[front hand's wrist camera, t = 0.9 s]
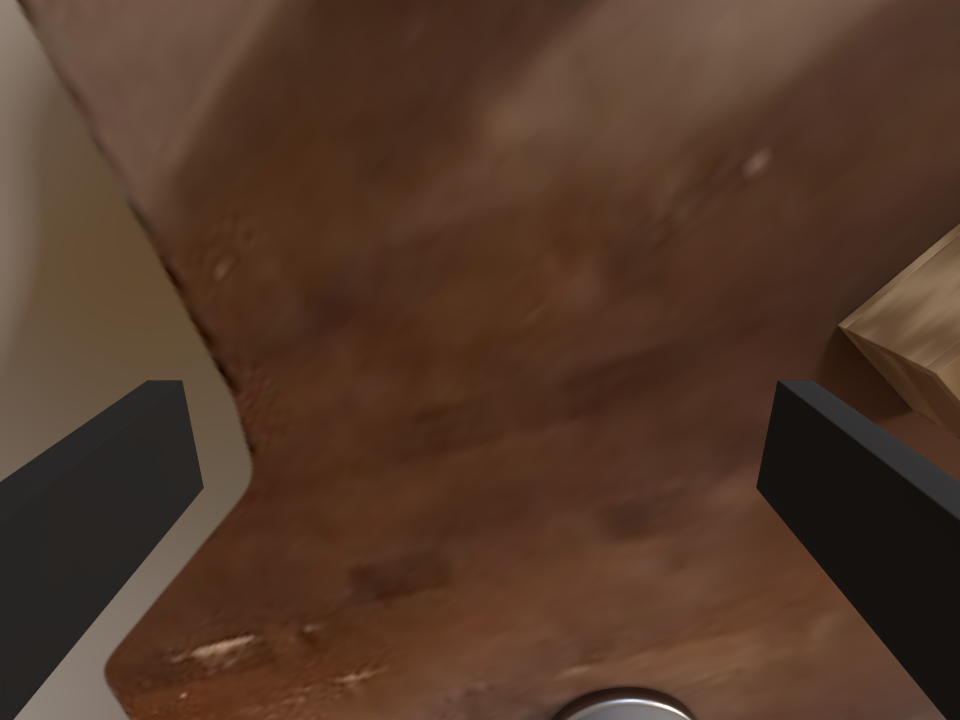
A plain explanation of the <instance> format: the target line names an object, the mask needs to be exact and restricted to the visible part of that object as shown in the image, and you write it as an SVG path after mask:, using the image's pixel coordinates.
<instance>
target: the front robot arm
mask: <svg viewBox="0 0 960 720" xmlns="http://www.w3.org/2000/svg"><path fill="white" fill-rule="evenodd" d="M203 488H204V487H203V482H202V477H201V472H200V467H199V462H198V457H197V452H196V447H195V442H194V437H193V432H192V427H191V422H190V417H189V412H188V407H187V402H186V397H185V392H184V387H183V382H182V380H181V381H179V380H178V381H175V380H174V381H173V380H158V381H157V380H156V381H154V380H148V381H146V382H145V383H143V384H142V385H140V386H139V387H137V388H136V389H134V390H133V391H132V392H130V393H129V394H127V395H126V396H124V397H123V398H121V399H120V400H119V401H117V402H116V403H114V404H113V405H111V406H110V407H108V408H107V409H105V410H104V411H103V412H101V413H100V414H98V415H97V416H95V417H94V418H92V419H91V420H89V421H88V422H87V423H85V424H84V425H82V426H81V427H79V428H78V429H76V430H75V431H74V432H72V433H71V434H69V435H68V436H66V437H65V438H63V439H62V440H61V441H59V442H58V443H56V444H55V445H53V446H52V447H50V448H49V449H47V450H46V451H45V452H43V453H42V454H40V455H39V456H37V457H36V458H34V459H33V460H31V461H30V462H29V463H27V464H26V465H24V466H23V467H21V468H20V469H18V470H17V471H16V472H14V473H13V474H11V475H10V476H8V477H7V478H6V479H4V480H2V481H1V482H0V720H14V718H15V717H16V716H17V715H18V713H19V712H20V711H21V710H22V709H23V707H24V706H25V705H26V704H27V703H28V701H29V700H30V699H31V698H32V696H33V695H34V694H35V693H36V692H37V690H38V689H39V688H40V687H41V685H42V684H43V683H44V682H45V681H46V679H47V678H48V677H49V676H50V674H51V673H52V672H53V671H54V670H55V668H56V667H57V666H58V665H59V663H60V662H61V661H62V660H63V659H64V657H65V656H66V655H67V654H68V653H69V651H70V650H71V649H72V648H73V646H74V645H75V644H76V643H77V642H78V640H79V639H80V638H81V637H82V635H83V634H84V633H85V632H86V631H87V629H88V628H89V627H90V626H91V625H92V623H93V622H94V621H95V620H96V618H97V617H98V616H99V615H100V614H101V612H102V611H103V610H104V609H105V607H106V606H107V605H108V604H109V603H110V601H111V600H112V599H113V598H114V596H115V595H116V594H117V593H118V592H119V590H120V589H121V588H122V587H123V585H124V584H125V583H126V582H127V581H128V579H129V578H130V577H131V576H132V574H133V573H134V572H135V571H136V570H137V568H138V567H139V566H140V565H141V564H142V562H143V561H144V560H145V559H146V557H147V556H148V555H149V554H150V553H151V551H152V550H153V549H154V548H155V547H156V545H157V544H158V543H159V542H160V540H161V539H162V538H163V537H164V536H165V534H166V533H167V532H168V531H169V529H170V528H171V527H172V526H173V524H174V523H175V522H176V521H177V520H178V518H179V517H180V516H181V515H182V514H183V512H184V511H185V510H186V509H187V508H188V506H189V505H190V504H191V503H192V501H193V500H194V499H195V498H196V497H197V495H198V494H199V493H200V492H201V490H202V489H203ZM756 488H757V489H758V490H759V492H760V493H761V494H762V495H763V497H764V498H765V499H766V500H767V501H768V503H769V504H770V505H771V506H772V508H773V509H774V510H775V511H776V512H777V514H778V515H779V516H780V517H781V519H782V520H783V521H784V522H785V523H786V525H787V526H788V527H789V528H790V529H791V531H792V532H793V533H794V534H795V536H796V537H797V538H798V539H799V540H800V542H801V543H802V544H803V545H804V547H805V548H806V549H807V550H808V551H809V553H810V554H811V555H812V556H813V558H814V559H815V560H816V561H817V562H818V564H819V565H820V566H821V567H822V568H823V570H824V571H825V572H826V573H827V575H828V576H829V577H830V578H831V579H832V581H833V582H834V583H835V584H836V586H837V587H838V588H839V589H840V590H841V592H842V593H843V594H844V595H845V596H846V598H847V599H848V600H849V601H850V603H851V604H852V605H853V606H854V607H855V609H856V610H857V611H858V612H859V614H860V615H861V616H862V617H863V618H864V620H865V621H866V622H867V623H868V625H869V626H870V627H871V628H872V629H873V631H874V632H875V633H876V634H877V635H878V637H879V638H880V639H881V640H882V642H883V643H884V644H885V645H886V646H887V648H888V649H889V650H890V651H891V653H892V654H893V655H894V656H895V657H896V659H897V660H898V661H899V662H900V664H901V665H902V666H903V667H904V668H905V670H906V671H907V672H908V673H909V674H910V676H911V677H912V678H913V679H914V681H915V682H916V683H917V684H918V685H919V687H920V688H921V689H922V690H923V692H924V693H925V694H926V695H927V696H928V698H929V699H930V700H931V701H932V703H933V704H934V705H935V706H936V707H937V709H938V710H939V711H940V712H941V713H942V715H943V716H944V717H945V718H946V720H960V482H959V481H958V480H956V479H955V478H953V477H952V476H950V475H949V474H947V473H946V472H944V471H943V470H942V469H940V468H939V467H937V466H936V465H934V464H933V463H931V462H930V461H929V460H927V459H926V458H924V457H923V456H921V455H920V454H918V453H917V452H915V451H914V450H913V449H911V448H910V447H908V446H907V445H905V444H904V443H902V442H901V441H900V440H898V439H897V438H895V437H894V436H892V435H891V434H889V433H888V432H886V431H885V430H884V429H882V428H881V427H879V426H878V425H876V424H875V423H873V422H872V421H871V420H869V419H868V418H866V417H865V416H863V415H862V414H860V413H859V412H857V411H856V410H855V409H853V408H852V407H850V406H849V405H847V404H846V403H844V402H843V401H842V400H840V399H839V398H837V397H836V396H834V395H833V394H831V393H830V392H829V391H827V390H826V389H824V388H823V387H821V386H820V385H818V384H817V383H815V382H814V381H813V380H778V382H777V387H776V392H775V397H774V402H773V407H772V412H771V417H770V422H769V427H768V432H767V437H766V442H765V447H764V452H763V457H762V462H761V467H760V472H759V477H758V482H757V487H756ZM552 720H696V719H695V717H694V715H693V714H692V713H691V711H690V710H689V709H688V708H687V707H686V706H684V705H683V704H682V703H681V702H679V701H677V700H676V699H674V698H672V697H670V696H668V695H666V694H663V693H660V692H657V691H654V690H649V689H643V688H613V689H607V690H602V691H598V692H595V693H591V694H589V695H586V696H584V697H581V698H579V699H577V700H575V701H574V702H572V703H570V704H569V705H567V706H566V707H564V708H563V709H562V710H561V711H560V712H558V713H557V714H556V716H555V717H554V718H553V719H552Z"/></svg>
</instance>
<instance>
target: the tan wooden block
mask: <svg viewBox="0 0 960 720" xmlns="http://www.w3.org/2000/svg"><path fill="white" fill-rule="evenodd" d="M838 327H839V328H840V329H841V330H842V331H843V333H844V334H845V335H846V336H847V337H848V338H849V339H850V340H851V341H852V343H853V344H854V345H855V346H856V347H857V348H858V349H859V350H860V352H861V353H862V354H863V355H864V356H865V357H866V358H867V359H868V360H869V362H870V363H871V364H872V365H873V366H874V367H875V368H876V369H877V371H878V372H879V373H880V374H881V375H882V376H883V377H884V378H885V379H886V381H887V382H888V383H889V384H890V385H891V386H892V387H893V388H894V390H895V391H896V392H897V393H898V394H899V395H900V396H901V397H902V399H903V400H904V401H905V402H906V403H907V404H908V405H909V406H910V407H911V409H912V410H913V411H914V412H915V413H917V414H919V415H920V416H922V417H924V418H925V419H927V420H929V421H930V422H932V423H934V424H935V425H937V426H939V427H940V428H942V429H944V430H945V431H947V432H949V433H950V434H952V435H954V436H955V437H957V438H959V439H960V223H959V224H958V225H957V226H956V227H954V228H953V229H952V230H951V231H950V232H948V233H947V234H946V235H945V236H944V237H942V238H941V239H940V240H939V241H938V242H937V243H935V244H934V245H933V246H932V247H931V248H929V249H928V250H927V251H926V252H925V253H923V254H922V255H921V256H920V257H919V258H917V259H916V260H915V261H914V262H913V263H911V264H910V265H909V266H908V267H907V268H905V269H904V270H903V271H902V272H901V273H899V274H898V275H897V276H896V277H895V278H893V279H892V280H891V281H890V282H889V283H887V284H886V285H885V286H884V287H883V288H881V289H880V290H879V291H878V292H877V293H875V294H874V295H873V296H872V297H871V298H869V299H868V300H867V301H866V302H865V303H863V304H862V305H861V306H860V307H859V308H858V309H856V310H855V311H854V312H853V313H852V314H850V315H849V316H848V317H847V318H846V319H844V320H843V321H842V322H841V323H840V324H838Z"/></svg>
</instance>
